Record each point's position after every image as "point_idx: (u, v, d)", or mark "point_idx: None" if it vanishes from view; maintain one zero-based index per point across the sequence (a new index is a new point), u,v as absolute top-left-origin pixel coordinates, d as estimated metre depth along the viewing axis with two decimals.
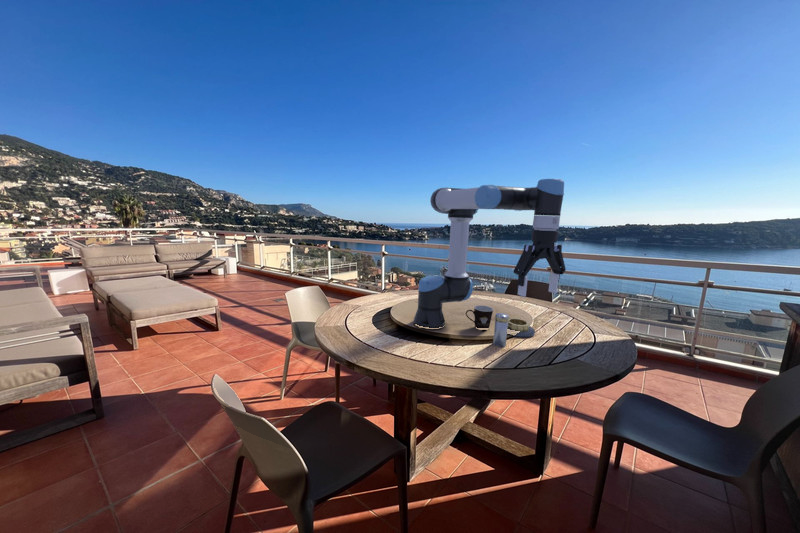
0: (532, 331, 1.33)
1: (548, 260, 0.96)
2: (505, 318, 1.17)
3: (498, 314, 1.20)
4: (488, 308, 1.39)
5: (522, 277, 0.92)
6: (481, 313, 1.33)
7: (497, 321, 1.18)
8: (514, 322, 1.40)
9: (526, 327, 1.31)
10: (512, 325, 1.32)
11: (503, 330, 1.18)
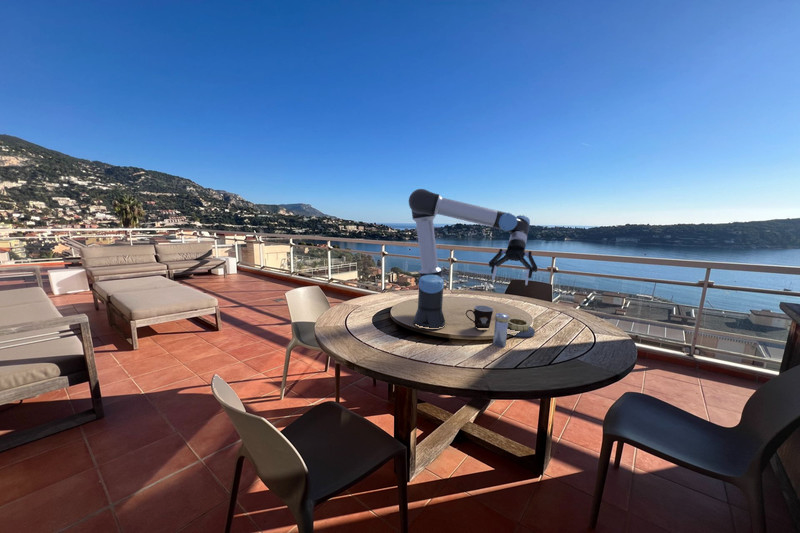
0: (532, 331, 1.33)
1: (504, 259, 1.32)
2: (505, 318, 1.17)
3: (498, 314, 1.20)
4: (488, 308, 1.39)
5: None
6: (481, 313, 1.33)
7: (497, 321, 1.18)
8: (514, 322, 1.40)
9: (526, 327, 1.31)
10: (512, 325, 1.32)
11: (503, 330, 1.18)
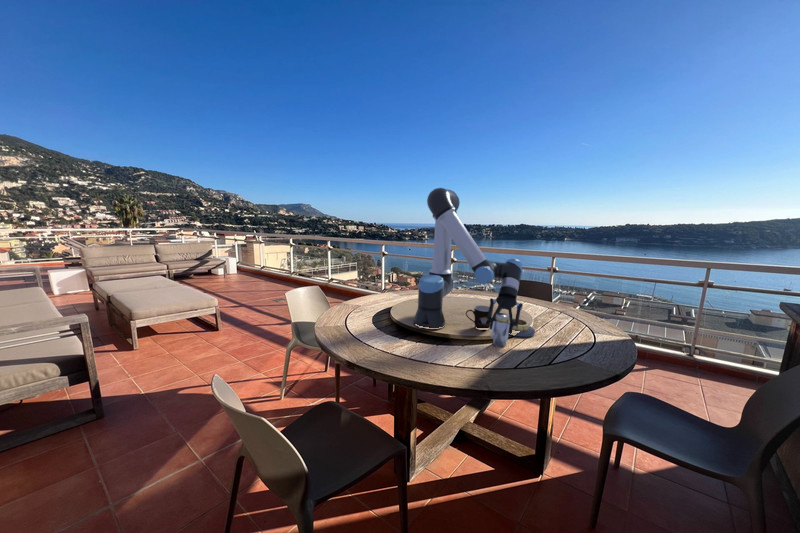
0: (532, 331, 1.33)
1: (499, 310, 1.24)
2: (505, 318, 1.17)
3: (498, 314, 1.20)
4: (488, 308, 1.39)
5: None
6: (481, 313, 1.33)
7: (497, 321, 1.18)
8: None
9: (526, 327, 1.31)
10: None
11: (503, 330, 1.18)
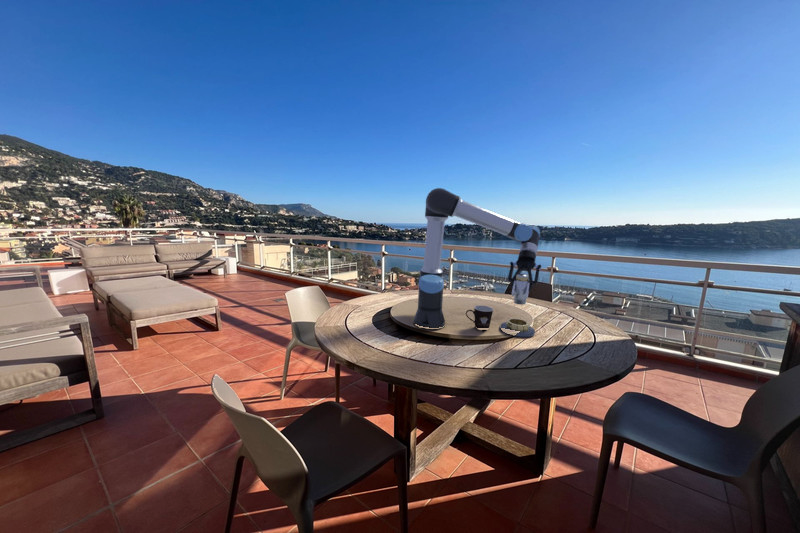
0: (532, 331, 1.33)
1: (519, 271, 1.34)
2: (525, 277, 1.27)
3: (518, 274, 1.30)
4: (488, 308, 1.39)
5: None
6: (481, 313, 1.33)
7: (518, 280, 1.28)
8: (514, 322, 1.40)
9: (526, 327, 1.31)
10: (512, 325, 1.32)
11: (523, 288, 1.28)
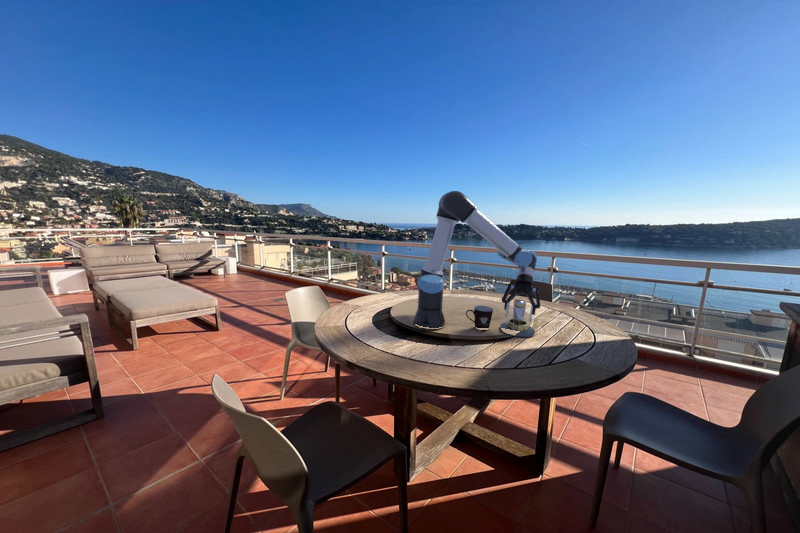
0: (532, 331, 1.33)
1: (515, 294, 1.39)
2: (523, 304, 1.31)
3: (516, 300, 1.34)
4: (488, 308, 1.39)
5: None
6: (481, 313, 1.33)
7: (515, 306, 1.33)
8: None
9: (526, 327, 1.31)
10: (512, 325, 1.32)
11: (521, 314, 1.32)
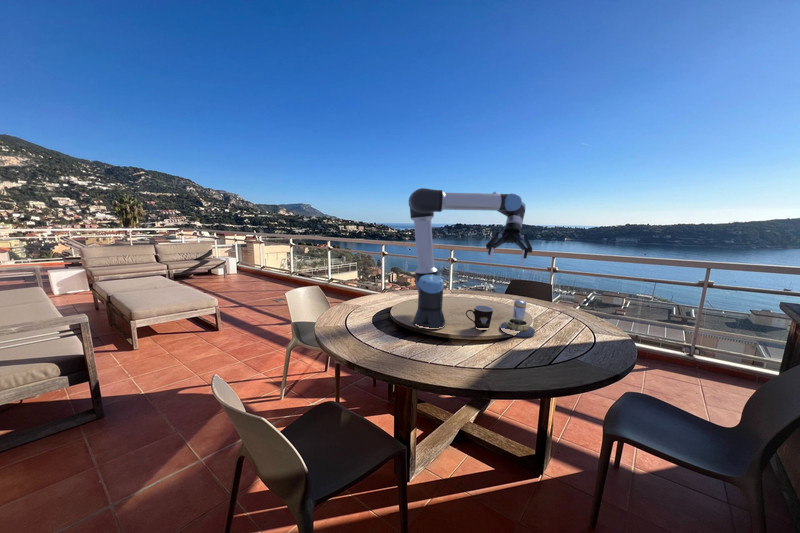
0: (532, 331, 1.33)
1: (501, 241, 1.37)
2: (523, 304, 1.31)
3: (516, 300, 1.34)
4: (488, 308, 1.39)
5: None
6: (481, 313, 1.33)
7: (516, 306, 1.33)
8: None
9: (526, 327, 1.31)
10: (512, 325, 1.32)
11: (521, 314, 1.32)
